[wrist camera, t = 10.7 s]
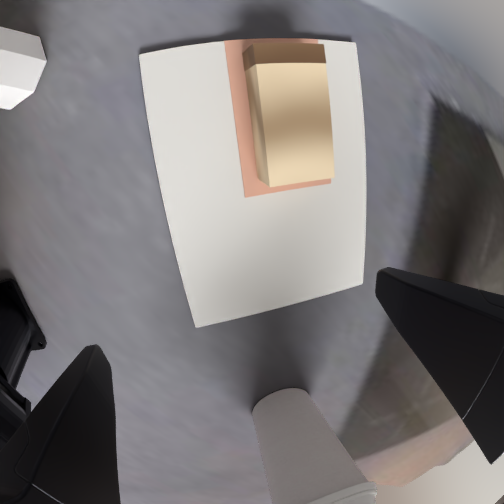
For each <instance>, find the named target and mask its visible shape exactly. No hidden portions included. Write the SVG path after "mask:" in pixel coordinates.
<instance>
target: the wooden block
mask: <svg viewBox="0 0 504 504" xmlns="http://www.w3.org/2000/svg"><path fill="white" fill-rule="evenodd" d="M242 56H243V64H244V71H245V75H246V83H247V91H248V99H249V108H250V116H251V124H252V133H253V141H254V150H255V159H256V167H257V176H258V179H259V180H260V181H262V182H263V183H264V184H266V185H267V186H269V187H276V186H282V185H288V184H295V183H301V182H308V181H315V180H322V179H329V178H335V173H334V152H333V136H332V122H331V110H330V98H329V88H328V79H327V70H326V57H325V49H324V44H313V43H253V44H252V45H250V46H249V47H248V48H247V49H246V50H245V51H244V52H243V53H242Z"/></svg>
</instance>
